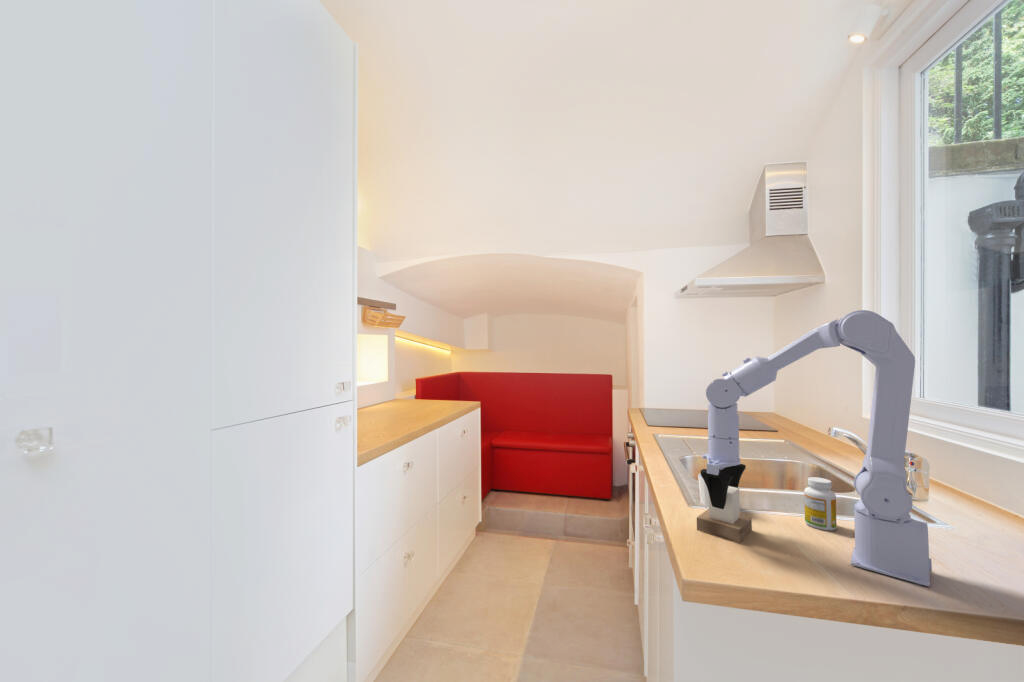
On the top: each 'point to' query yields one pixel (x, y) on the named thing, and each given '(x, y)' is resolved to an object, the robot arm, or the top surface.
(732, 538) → the walnut block
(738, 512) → the cream block
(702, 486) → the white cup
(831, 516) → the supplement bottle
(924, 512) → the top surface
